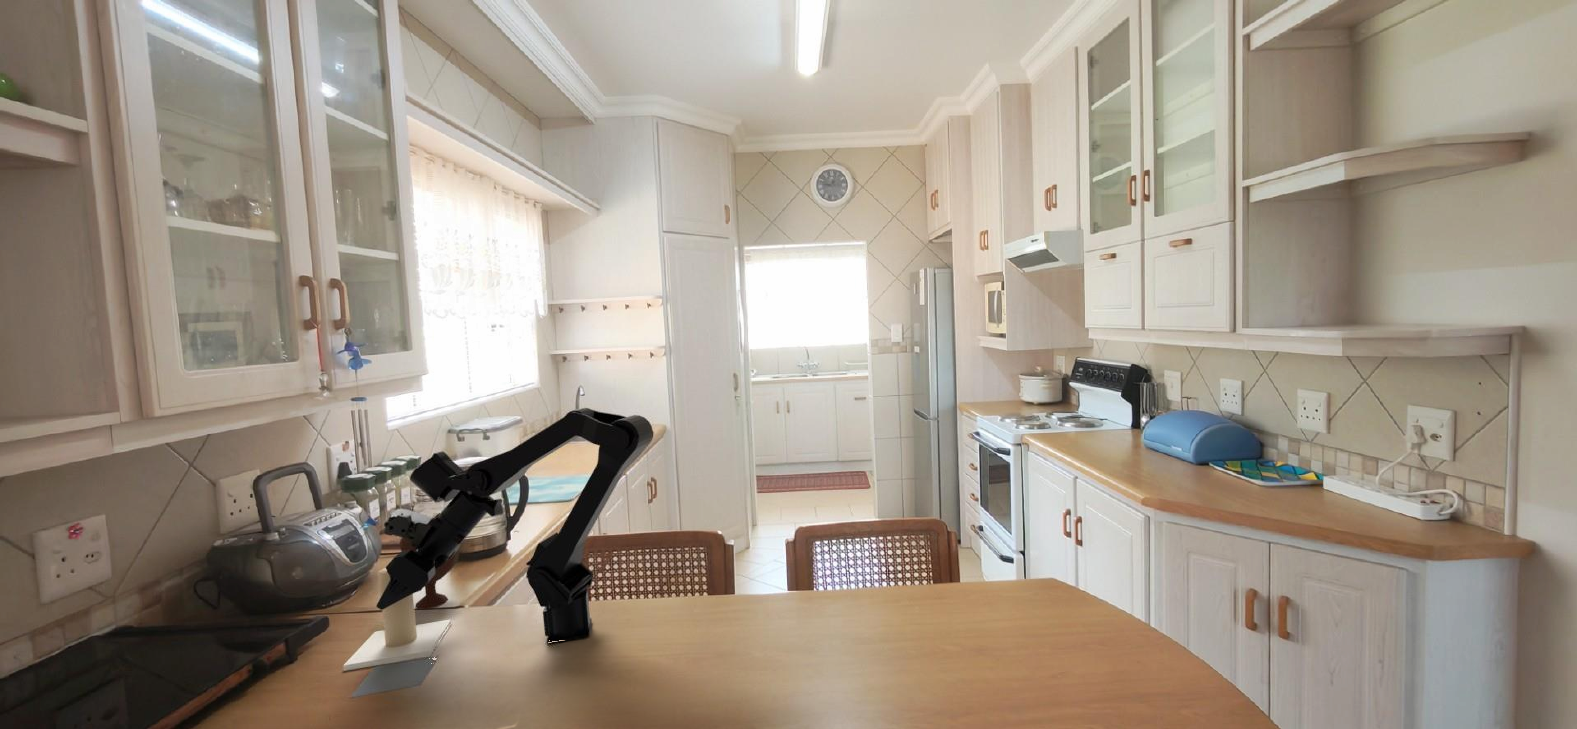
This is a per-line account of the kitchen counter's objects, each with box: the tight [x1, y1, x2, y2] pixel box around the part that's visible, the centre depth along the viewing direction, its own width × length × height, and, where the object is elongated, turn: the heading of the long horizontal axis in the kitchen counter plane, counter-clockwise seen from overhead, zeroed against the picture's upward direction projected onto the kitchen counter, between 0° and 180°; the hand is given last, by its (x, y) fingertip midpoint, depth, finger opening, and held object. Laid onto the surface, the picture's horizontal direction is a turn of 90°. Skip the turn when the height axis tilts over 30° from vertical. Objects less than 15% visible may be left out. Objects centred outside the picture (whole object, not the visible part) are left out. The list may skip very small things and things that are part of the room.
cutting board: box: [343, 618, 453, 672], centre depth 104 cm, size 12×12×1 cm
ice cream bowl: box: [398, 537, 460, 610], centre depth 122 cm, size 11×11×15 cm
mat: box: [349, 655, 438, 699], centre depth 94 cm, size 9×9×1 cm
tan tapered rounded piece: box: [377, 567, 417, 647], centre depth 104 cm, size 4×4×12 cm
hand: (390, 597), depth 103 cm, fingers open, 9 cm apart
